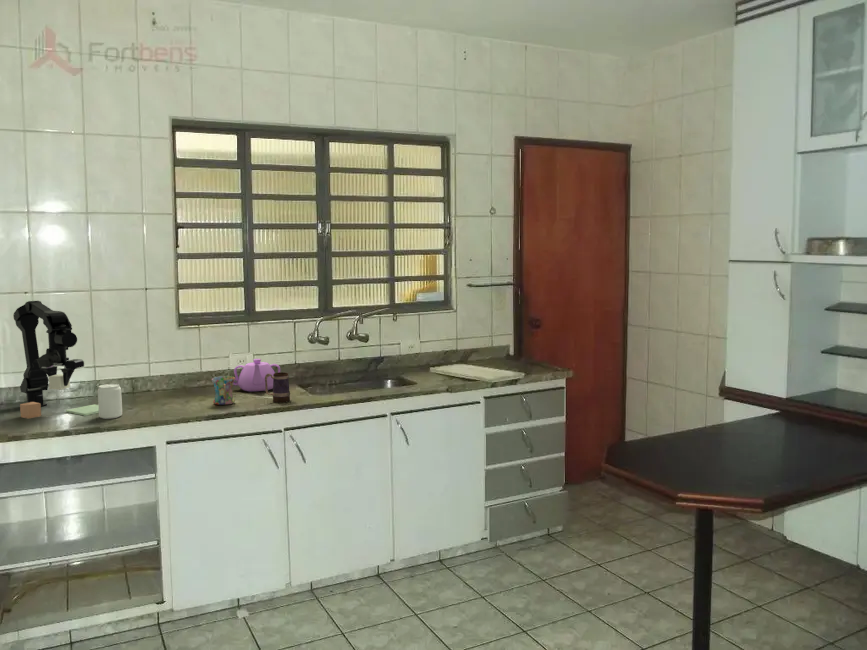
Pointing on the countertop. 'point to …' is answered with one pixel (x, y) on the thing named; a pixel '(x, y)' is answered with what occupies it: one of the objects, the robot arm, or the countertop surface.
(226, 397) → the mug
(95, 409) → the plate
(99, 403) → the beverage can
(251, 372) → the teapot
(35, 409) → the terracotta brick
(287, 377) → the mug
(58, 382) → the cream brick
